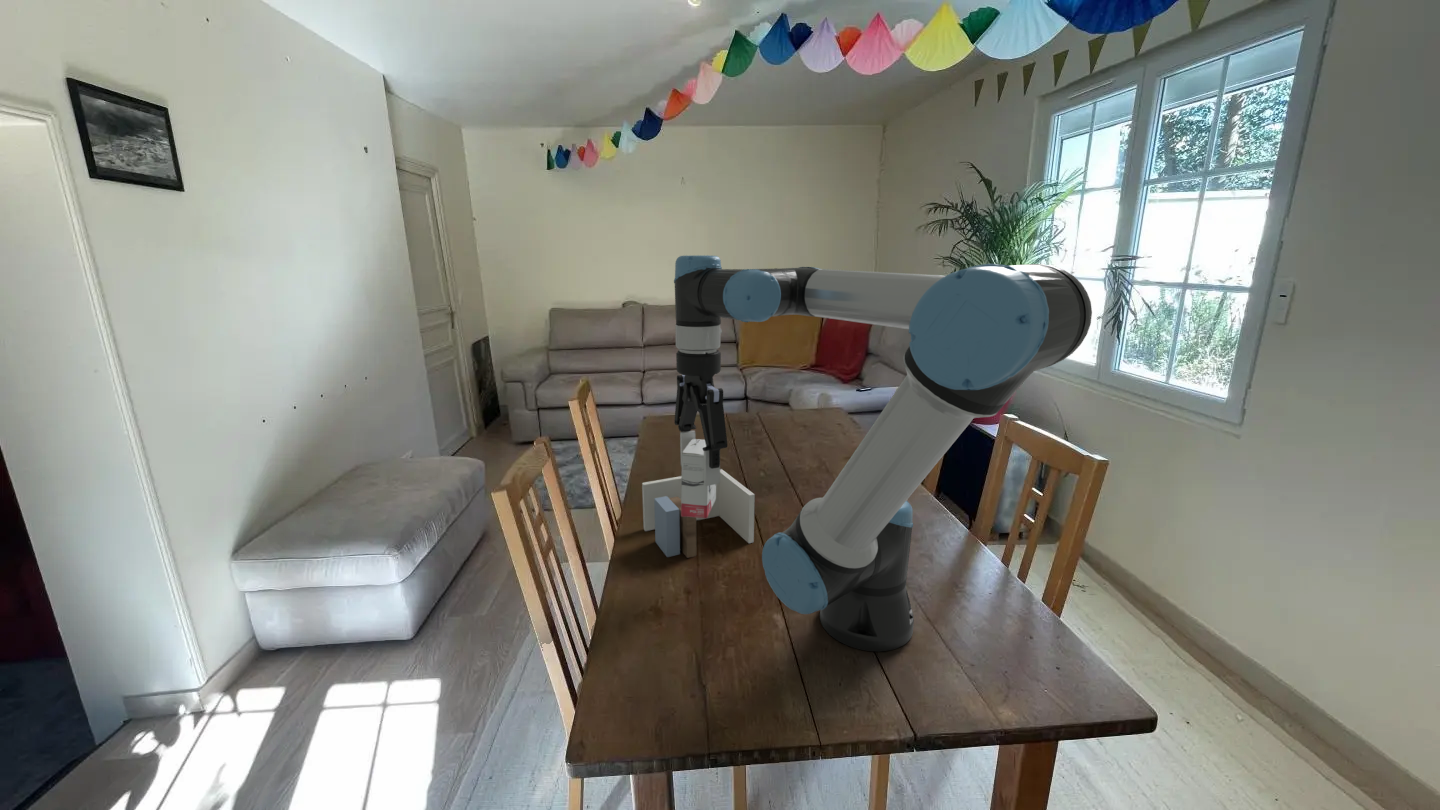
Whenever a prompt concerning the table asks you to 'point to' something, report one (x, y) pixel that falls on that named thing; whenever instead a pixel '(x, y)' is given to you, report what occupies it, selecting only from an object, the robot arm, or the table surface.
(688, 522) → the bookend
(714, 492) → the ink box
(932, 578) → the table surface
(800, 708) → the table surface
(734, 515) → the white corner wall
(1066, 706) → the table surface
